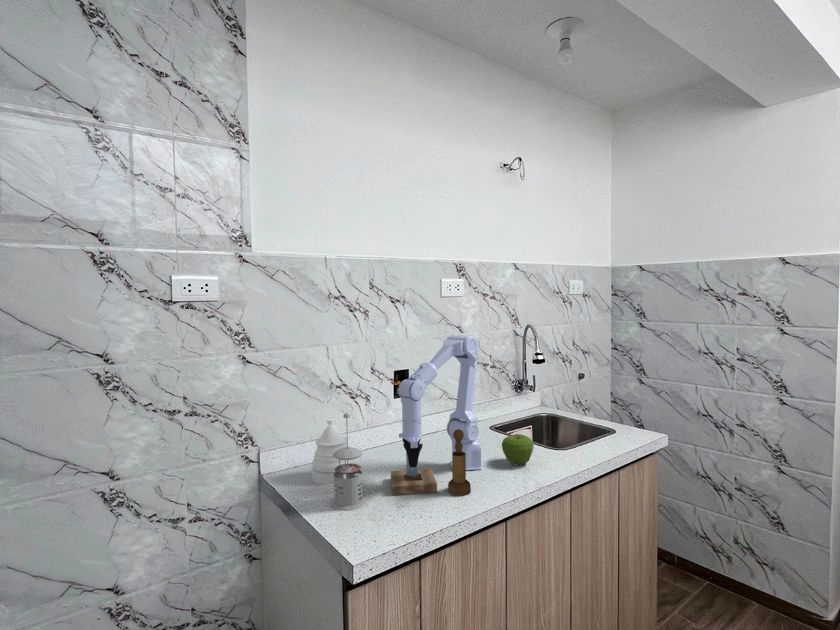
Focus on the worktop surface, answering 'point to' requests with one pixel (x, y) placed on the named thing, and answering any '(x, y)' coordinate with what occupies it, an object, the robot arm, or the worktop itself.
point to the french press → (347, 479)
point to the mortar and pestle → (459, 469)
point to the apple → (517, 449)
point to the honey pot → (328, 454)
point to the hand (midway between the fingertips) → (412, 464)
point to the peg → (411, 468)
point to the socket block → (413, 482)
